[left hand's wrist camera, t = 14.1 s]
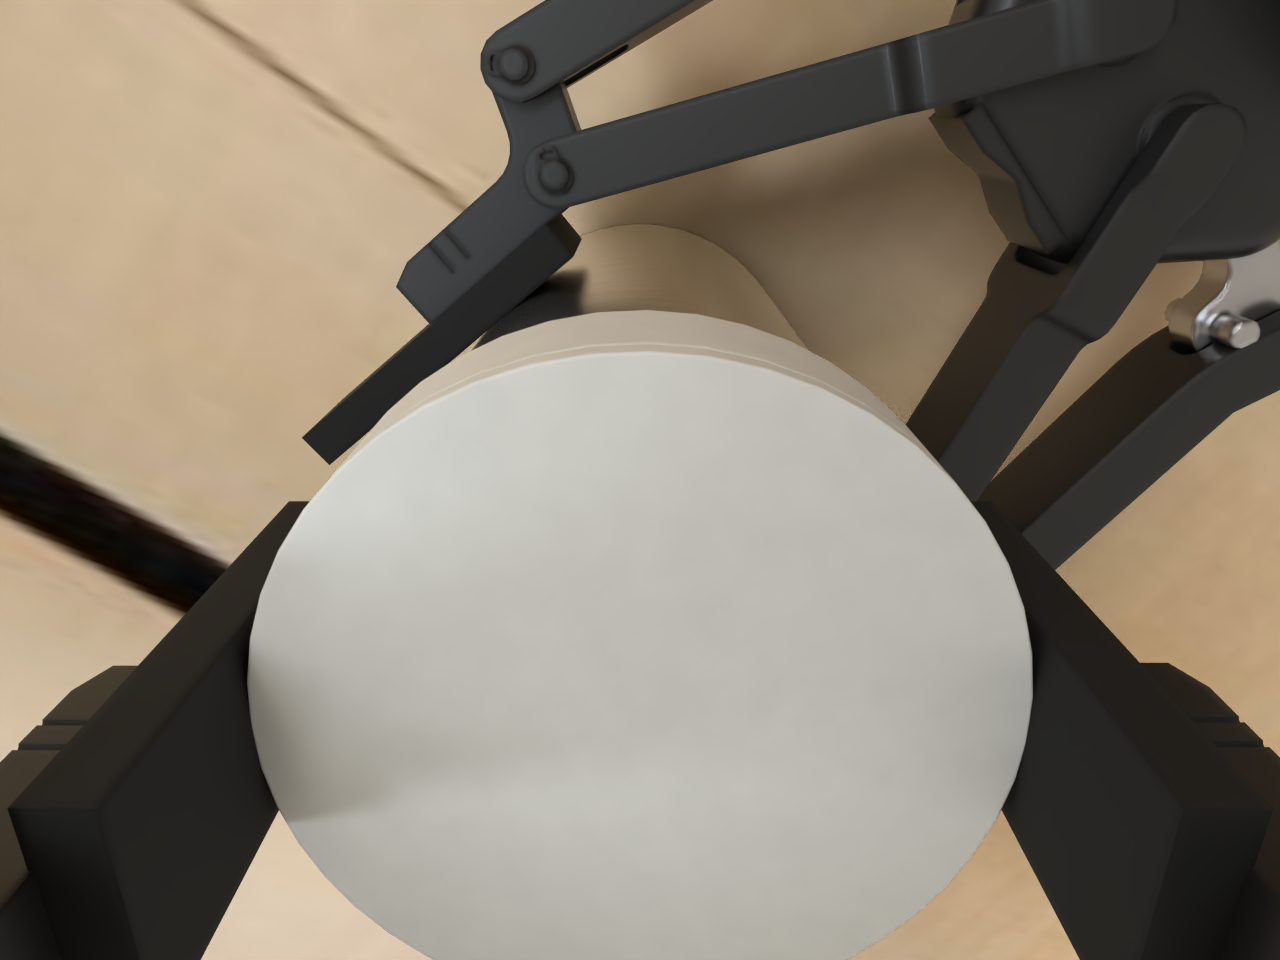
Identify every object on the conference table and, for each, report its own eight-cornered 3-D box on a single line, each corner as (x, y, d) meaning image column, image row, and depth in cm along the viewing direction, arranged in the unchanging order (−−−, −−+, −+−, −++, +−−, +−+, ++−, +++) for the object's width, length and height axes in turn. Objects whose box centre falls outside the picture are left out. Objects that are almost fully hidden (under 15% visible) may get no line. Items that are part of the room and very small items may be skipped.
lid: (725, 147, 10) (747, 154, 8) (1085, 693, 13) (1165, 799, 11) (169, 573, 12) (76, 662, 10) (581, 968, 15) (572, 1100, 13)
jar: (827, 268, 24) (1094, 480, 10) (737, 537, 27) (845, 997, 13) (525, 187, 23) (350, 292, 9) (468, 473, 26) (267, 887, 12)
